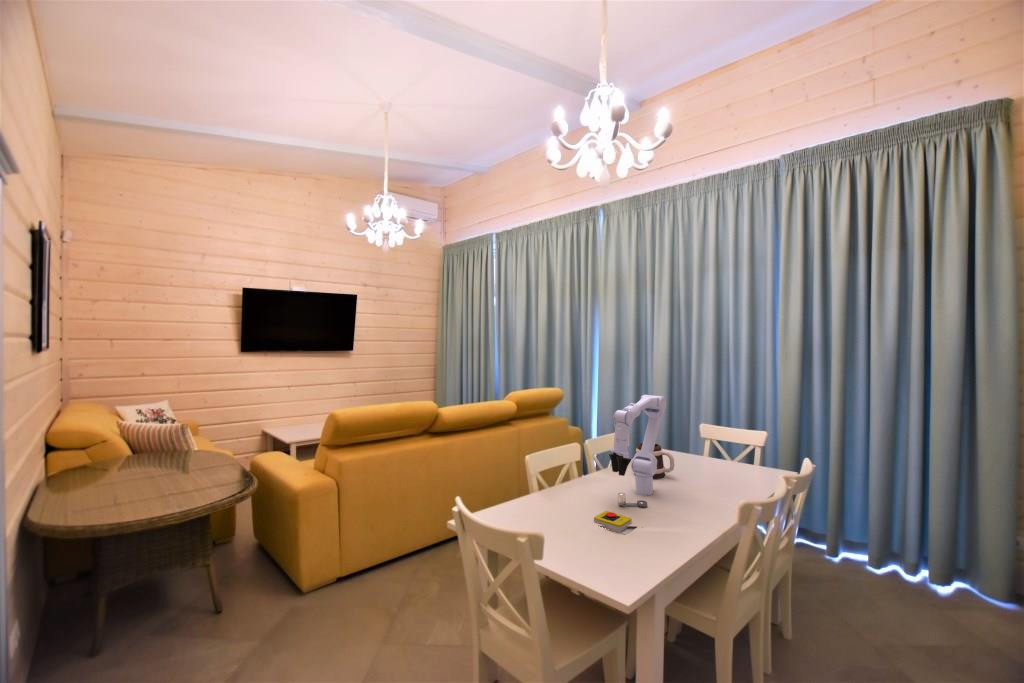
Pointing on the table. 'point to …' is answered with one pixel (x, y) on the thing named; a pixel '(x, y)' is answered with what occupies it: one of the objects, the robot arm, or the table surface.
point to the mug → (660, 460)
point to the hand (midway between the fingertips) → (618, 473)
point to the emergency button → (615, 522)
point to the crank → (623, 502)
